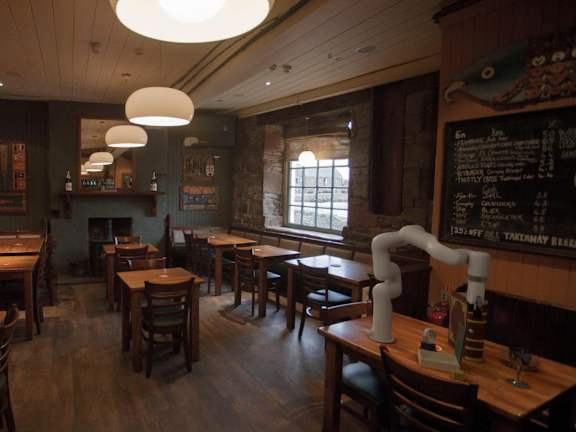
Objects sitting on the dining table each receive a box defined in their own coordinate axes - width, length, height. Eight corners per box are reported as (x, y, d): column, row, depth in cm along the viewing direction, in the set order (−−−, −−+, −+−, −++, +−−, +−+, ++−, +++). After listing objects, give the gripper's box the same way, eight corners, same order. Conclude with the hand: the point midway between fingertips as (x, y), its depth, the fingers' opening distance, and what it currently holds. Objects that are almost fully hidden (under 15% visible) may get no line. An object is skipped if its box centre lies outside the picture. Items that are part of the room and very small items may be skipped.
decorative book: (485, 362, 189) (490, 302, 187) (467, 360, 191) (471, 301, 188) (463, 344, 211) (467, 289, 209) (447, 342, 213) (450, 289, 210)
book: (420, 366, 184) (420, 358, 184) (417, 356, 196) (418, 348, 195) (459, 373, 178) (460, 365, 177) (454, 362, 189) (455, 354, 189)
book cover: (464, 330, 176) (477, 333, 174) (459, 321, 187) (471, 324, 185) (459, 364, 177) (472, 367, 175) (454, 353, 189) (466, 356, 187)
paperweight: (453, 380, 171) (453, 372, 171) (451, 376, 175) (452, 368, 174) (464, 383, 169) (464, 374, 169) (462, 378, 173) (462, 370, 173)
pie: (528, 360, 192) (528, 350, 191) (548, 375, 177) (549, 364, 176) (491, 356, 196) (492, 347, 195) (508, 371, 181) (509, 360, 180)
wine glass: (501, 379, 173) (503, 346, 171) (517, 379, 173) (520, 346, 172) (517, 388, 165) (520, 354, 163) (535, 388, 165) (537, 354, 164)
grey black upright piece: (438, 349, 204) (439, 329, 203) (428, 352, 200) (429, 331, 199) (427, 345, 209) (428, 325, 208) (418, 348, 205) (419, 327, 204)
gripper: (463, 273, 187) (460, 308, 188) (471, 282, 171) (468, 320, 173) (482, 275, 183) (479, 311, 185) (492, 284, 168) (489, 322, 169)
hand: (474, 315), depth 179 cm, fingers open, 9 cm apart
